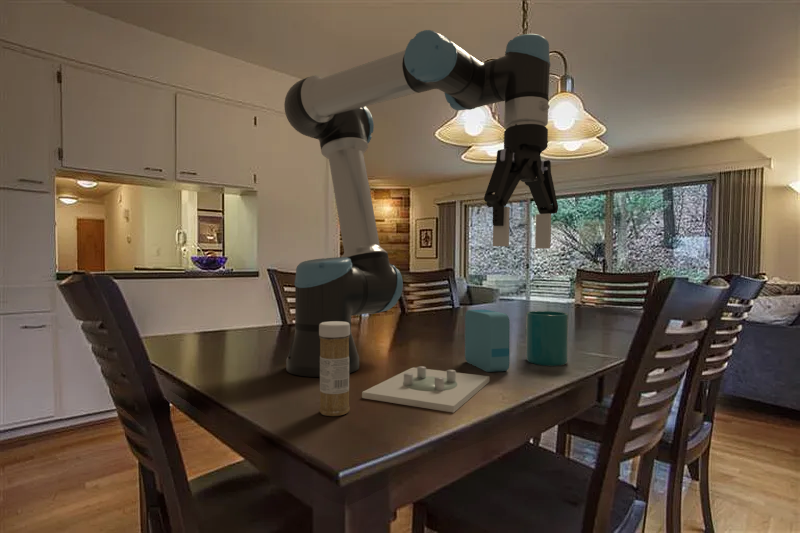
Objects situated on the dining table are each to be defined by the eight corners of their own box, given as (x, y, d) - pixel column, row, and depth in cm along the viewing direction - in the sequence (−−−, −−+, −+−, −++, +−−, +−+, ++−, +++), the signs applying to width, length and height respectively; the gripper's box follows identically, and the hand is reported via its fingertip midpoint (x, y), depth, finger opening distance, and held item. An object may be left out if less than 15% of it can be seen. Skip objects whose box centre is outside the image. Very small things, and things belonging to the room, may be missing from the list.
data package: (509, 372, 93) (510, 314, 93) (490, 374, 92) (490, 315, 91) (482, 360, 104) (482, 308, 104) (464, 361, 103) (464, 309, 103)
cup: (542, 354, 111) (542, 309, 111) (576, 365, 100) (577, 314, 100) (511, 357, 108) (511, 310, 108) (542, 368, 97) (543, 315, 97)
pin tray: (362, 397, 75) (362, 379, 75) (412, 372, 92) (412, 357, 92) (453, 412, 67) (454, 392, 67) (489, 381, 85) (489, 365, 85)
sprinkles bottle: (345, 406, 70) (346, 320, 70) (352, 415, 66) (353, 323, 66) (316, 409, 69) (316, 321, 69) (321, 419, 64) (322, 325, 64)
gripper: (503, 106, 69) (499, 244, 69) (578, 138, 86) (575, 249, 86) (464, 116, 75) (461, 245, 75) (543, 144, 91) (540, 249, 92)
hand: (522, 247), depth 81 cm, fingers open, 13 cm apart
